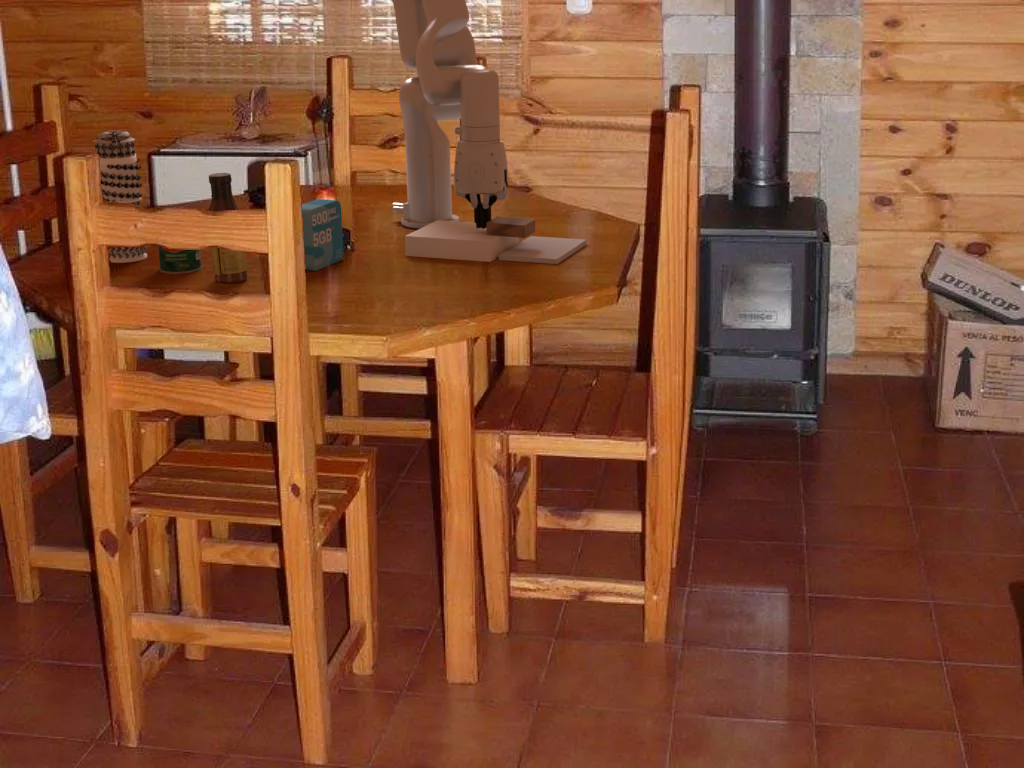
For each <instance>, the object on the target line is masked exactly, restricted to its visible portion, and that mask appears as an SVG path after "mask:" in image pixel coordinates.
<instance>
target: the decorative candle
mask: <svg viewBox="0 0 1024 768" xmlns="http://www.w3.org/2000/svg"><path fill="white" fill-rule="evenodd" d="M135 140H136V138H135V137H133V136H132V135H131V134H130V132H128V131H126V130H104V131H101V132H99V133H98V134H97V136H96V138H95V139H94V140H92V143H94V149H95V154H96V153H97V154H99V156H100V171H101V186H102V195H103V199H104V200H106V201H110V202H118V203H126V204H135V205H140V206H141V201H142V200H143V199H142V197H143V194H142V193H141V192H139V189H140V188H142V187H143V184H142V183H141V182H139V181H140V180H141V179H142V175H140V174H138V173H137V171H139V170H140V169H142V166H141V165H140V164H139V163H138V162H140V161H141V160H140V159H141V158H137V153H136V148H135V147H136V146H135ZM147 251H148V246H147V245H146V246H143V247H109V255H110V261H111V262H110V263H113V264H115V263H116V264H123V263H133V262H139V261H142V260H146V259H147V258H148V253H146V252H147Z"/></svg>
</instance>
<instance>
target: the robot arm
mask: <svg viewBox="0 0 1024 768" xmlns="http://www.w3.org/2000/svg"><path fill="white" fill-rule="evenodd" d="M391 1H392V5H393V9H394V10H393V11H394V16H395V24H396V30H397V39H398V45H399V46H398V47H399V52H400V57H401V61H402V63H403V65H404V66H405V68H407V69H409V70H412V71H413V70H414V71H416V72H417V73H416V74H417V76H413V77H410V78H408V79H406V80H405V81H404V82H403V83H402V84H401V86H400V88H399V92H398V102H399V105H400V106H399V107H400V112H401V116H402V122H403V130H404V143H405V145H404V147H405V166H406V168H405V169H406V193H407V195H406V196H407V197H406V198H407V201H406V202H404V203H402V202H393V203H392V205H391V210H392V213H393V214H395V213H396V214H402V215H403V217H401V219H400V223H401V225H402V226H404V227H407V228H412V229H420V228H422V227H425V226H427V225H429V224H431V223H433V222H435V221H437V220H443V221H459V222H460V217H459V216H458V215H456V214H453V210H452V209H453V203H452V174H451V173H452V172H451V171H452V169H451V165H452V164H451V145H450V144H451V143H450V140H449V137H448V135H447V134H446V132H445V131H444V130H443V129H442V128H441V126H440V125H439V124H438V123H439V122H441V121H443V122H444V121H452V120H460V125H459V127H455V129H454V134H455V135H458V136H459V137H460V139H461V140H458V141H457V143H456V148H455V149H456V150H455V156H454V157H455V158H454V166H453V167H454V168H453V187H454V190H455V191H456V193H455V194H456V196H457V197H458V198H459V197H460V198H462V199H466V200H467V202H468V203H469V204H470V205H471V208H473V219H474V220H473V222H475V223H476V228H482V229H485V228H486V227H487V222H488V221H490V220H492V206H493V205H494V204H495V203H496V202H497V201H500V200H501V201H502V200H504V199H505V200H506V199H507V198H509V191H508V188H509V169H508V168H509V167H508V160H507V153H506V148H505V145H504V141H503V140H501V125H500V124H501V120H500V117H501V116H500V114H501V113H500V77H499V74H498V72H497V71H495V70H493V69H489V68H488V67H487V66H485V65H482V64H478V60H477V52H476V47H475V40H474V37H473V35H472V33H471V30H470V29H469V27H467V24H468V23H469V20H470V13H469V9H468V6H467V2H466V0H391ZM482 195H483V199H482Z"/></svg>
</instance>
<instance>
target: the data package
mask: <svg viewBox="0 0 1024 768" xmlns="http://www.w3.org/2000/svg"><path fill="white" fill-rule="evenodd" d="M301 205H302V218H303V232H304V247H305V264H306V270H305V271H310V272H311V271H312V272H316V271H319V270H322V269H324V268H326V267H328V266H331V265H332V264H336V263H338V262H340V261H341V260H342V259H343V257H344V239H343V237H344V236H343V221H342V220H343V219H342V217H343V216H342V204H341V202H340V201H339V200H337V199H323V198H316V199H314V200H311V201H309V202H305V203H302V204H301Z"/></svg>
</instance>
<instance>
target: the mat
mask: <svg viewBox="0 0 1024 768" xmlns="http://www.w3.org/2000/svg"><path fill="white" fill-rule="evenodd" d="M585 246H587V239H581V238H580V239H579V238H568V237H567V238H566V237H565V238H564V237H552V236H551V237H550V236H536V235H534V236H533V235H529V236H527V237H526V238H524V240H521V241H519V243H518V244H517V245H515V246H513V247H511V248H510V249H508V250H506V251H505V252H503V253H501V254H500V255H499V257H498V260H499V261H507V262H521V263H523V262H524V263H534V264H535V263H536V264H537V263H538V264H549V265H558V264H559V263H561V262H562V261H564V260H565V259H567V258H568V257H571V256H572V255H573V254H575V253H576V252H578V251H579V250H580V249H582V248H584V247H585Z"/></svg>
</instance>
